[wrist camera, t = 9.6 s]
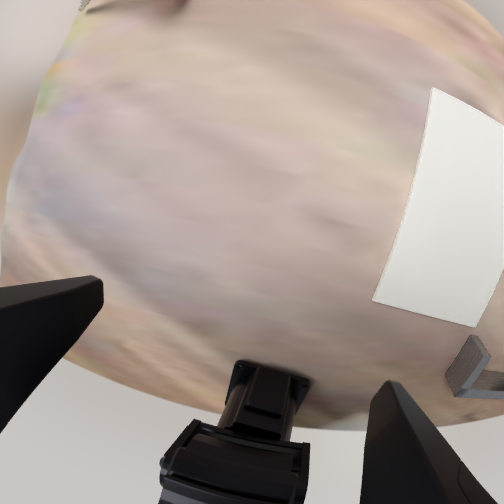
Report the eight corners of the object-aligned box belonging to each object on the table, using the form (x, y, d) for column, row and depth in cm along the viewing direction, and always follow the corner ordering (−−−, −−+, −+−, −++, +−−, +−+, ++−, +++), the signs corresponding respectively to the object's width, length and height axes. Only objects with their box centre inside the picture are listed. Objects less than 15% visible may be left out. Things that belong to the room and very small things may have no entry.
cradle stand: (513, 381, 17) (522, 398, 15) (445, 373, 19) (454, 396, 16) (534, 348, 16) (546, 365, 13) (470, 334, 17) (483, 356, 15)
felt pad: (473, 325, 17) (475, 327, 17) (372, 298, 18) (372, 301, 18) (532, 148, 11) (534, 148, 11) (431, 88, 13) (433, 87, 13)
